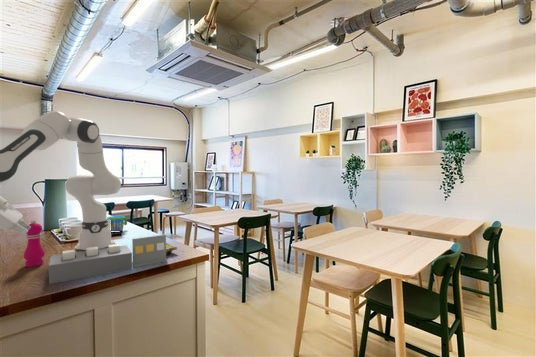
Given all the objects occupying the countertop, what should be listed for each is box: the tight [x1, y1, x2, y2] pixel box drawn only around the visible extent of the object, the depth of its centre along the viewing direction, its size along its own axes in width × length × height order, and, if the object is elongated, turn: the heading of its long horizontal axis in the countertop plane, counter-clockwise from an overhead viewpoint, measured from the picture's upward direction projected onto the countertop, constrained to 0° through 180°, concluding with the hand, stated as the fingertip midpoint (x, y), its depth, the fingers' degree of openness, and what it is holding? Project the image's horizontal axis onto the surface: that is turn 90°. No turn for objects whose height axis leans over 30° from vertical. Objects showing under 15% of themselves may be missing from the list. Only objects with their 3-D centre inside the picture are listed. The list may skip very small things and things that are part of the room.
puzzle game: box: [166, 242, 178, 255], centre depth 144 cm, size 12×5×20 cm
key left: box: [61, 249, 76, 260], centre depth 113 cm, size 4×4×4 cm
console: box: [48, 244, 133, 285], centre depth 118 cm, size 14×28×7 cm, turn 124°
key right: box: [107, 243, 121, 253], centre depth 122 cm, size 4×4×4 cm
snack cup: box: [107, 215, 128, 232], centre depth 188 cm, size 16×10×10 cm
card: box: [132, 234, 168, 268], centre depth 128 cm, size 5×14×12 cm, turn 124°
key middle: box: [85, 247, 98, 256], centre depth 118 cm, size 4×4×4 cm
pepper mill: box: [23, 219, 46, 268], centre depth 125 cm, size 7×7×20 cm
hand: (27, 230), depth 106 cm, fingers open, 5 cm apart
